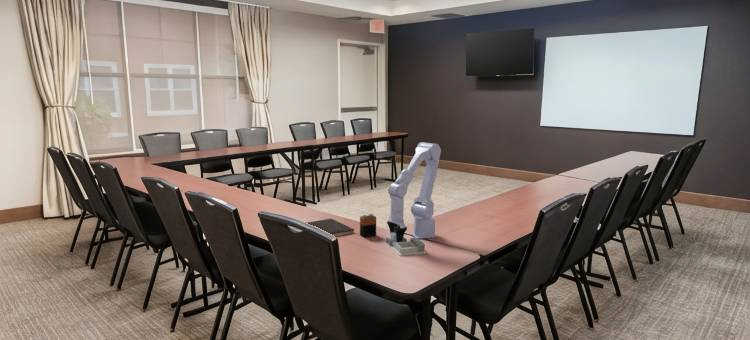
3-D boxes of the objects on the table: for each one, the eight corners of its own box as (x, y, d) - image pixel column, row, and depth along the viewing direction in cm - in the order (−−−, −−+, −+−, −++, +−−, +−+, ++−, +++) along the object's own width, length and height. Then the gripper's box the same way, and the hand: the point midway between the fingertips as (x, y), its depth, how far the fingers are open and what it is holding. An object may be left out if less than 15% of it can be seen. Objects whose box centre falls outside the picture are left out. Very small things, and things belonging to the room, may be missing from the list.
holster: (402, 240, 205) (402, 236, 205) (406, 243, 201) (406, 239, 200) (386, 241, 203) (386, 237, 203) (389, 245, 198) (389, 241, 198)
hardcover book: (331, 222, 234) (331, 218, 234) (354, 234, 215) (354, 229, 215) (303, 227, 225) (303, 222, 225) (325, 239, 207) (325, 234, 206)
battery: (376, 235, 212) (376, 215, 210) (363, 237, 209) (363, 216, 207) (372, 233, 216) (372, 212, 214) (359, 234, 213) (359, 214, 211)
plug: (398, 241, 204) (399, 229, 203) (402, 244, 201) (402, 232, 200) (390, 242, 203) (390, 230, 202) (393, 244, 199) (393, 232, 198)
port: (417, 245, 198) (417, 236, 198) (426, 253, 189) (426, 243, 188) (391, 248, 195) (391, 238, 194) (399, 255, 185) (400, 245, 185)
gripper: (383, 206, 205) (382, 235, 207) (394, 214, 191) (393, 245, 193) (397, 205, 207) (396, 234, 209) (409, 213, 193) (408, 243, 196)
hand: (396, 239), depth 202 cm, fingers open, 7 cm apart
